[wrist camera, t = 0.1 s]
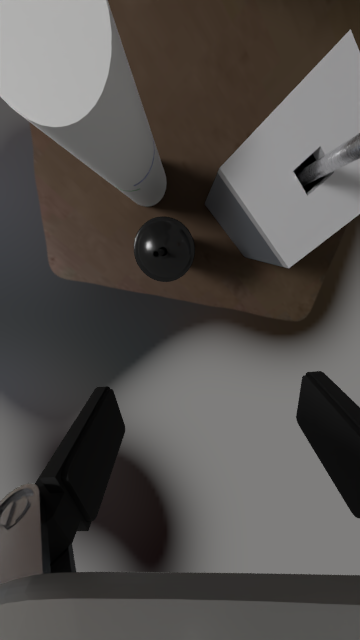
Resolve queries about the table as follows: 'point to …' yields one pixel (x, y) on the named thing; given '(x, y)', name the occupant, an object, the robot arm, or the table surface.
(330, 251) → the table surface
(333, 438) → the robot arm
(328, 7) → the table surface
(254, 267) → the table surface
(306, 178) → the copper piston
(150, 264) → the drinking cup
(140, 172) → the cylindrical container
